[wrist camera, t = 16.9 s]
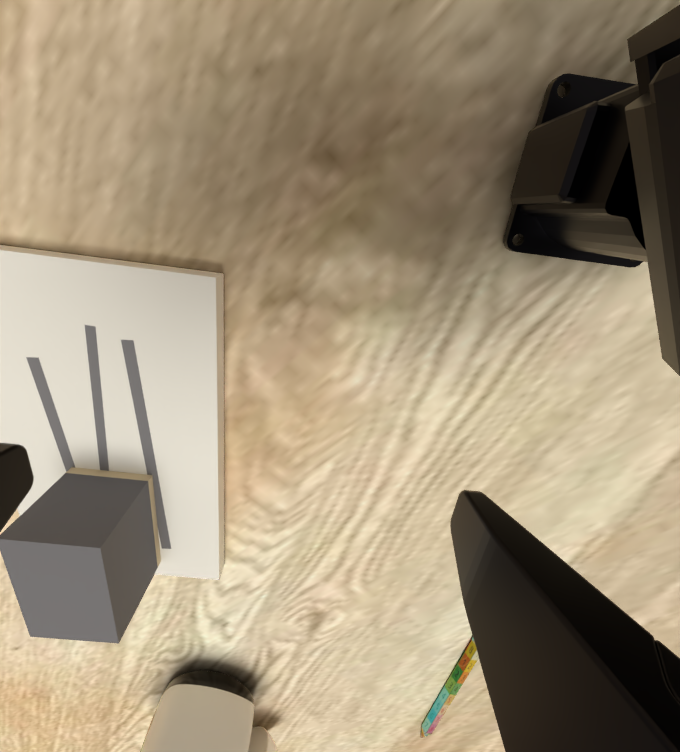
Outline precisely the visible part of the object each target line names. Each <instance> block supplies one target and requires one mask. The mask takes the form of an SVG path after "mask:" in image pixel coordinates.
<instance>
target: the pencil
mask: <svg viewBox="0 0 680 752" xmlns="http://www.w3.org/2000/svg"><path fill="white" fill-rule="evenodd" d="M478 658H479V656H478V652H477V649H476V645H475V642H474V638H473V637H472V639H471V641H470V643H469V644H468V646H467V648H466V650H465V651H464V653H463V655H462V656H461V658H460V660H459V662H458V663H457V665H456V667H455V668H454V670H453V672H452V674H451V675H450V677H449V679H448V680H447V682H446V684H445V686H444V687H443V689H442V691H441V692H440V694H439V696H438V698H437V699H436V701H435V703H434V704H433V706H432V708H431V710H430V711H429V713H428V715H427V716H426V718H425V720H424V722H423V723H422V727H421V738H422V737H425V736H427V735H430V734H432V733H433V731H434V729H435V728H436V726H437V724H438V723H439V721H440V720H441V718H442V716H443V715H444V713H445V712H446V710H447V708H448V707H449V705H450V704H451V702H452V700H453V699H454V697H455V695H456V694H457V692H458V691H459V689H460V687H461V686H462V684H463V683H464V681H465V679H466V678H467V676H468V675H469V673H470V671H471V670H472V668H473V666H474V665H475V663H476V662H477V660H478Z"/></svg>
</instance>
